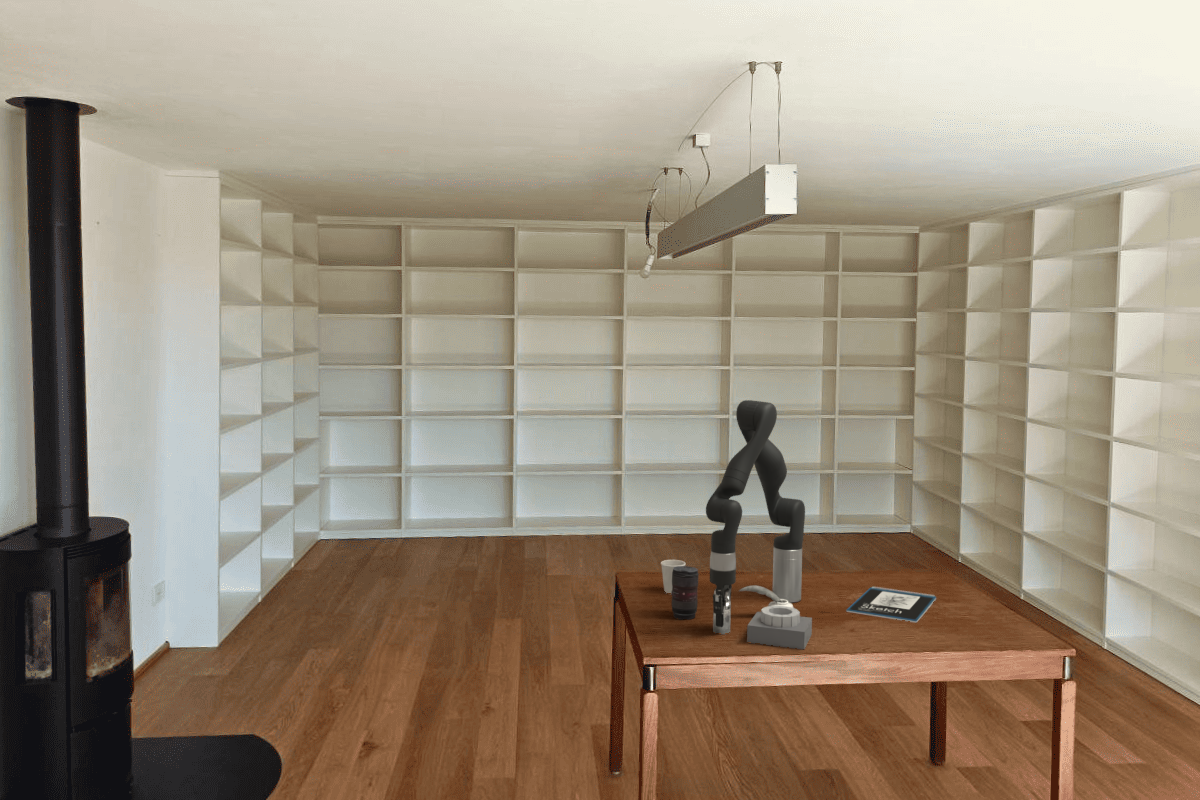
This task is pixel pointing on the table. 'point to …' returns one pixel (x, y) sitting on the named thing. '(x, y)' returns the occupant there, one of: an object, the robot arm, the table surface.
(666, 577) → the dixie cup
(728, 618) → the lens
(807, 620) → the grey socket base
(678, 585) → the camera lens
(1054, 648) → the table surface
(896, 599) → the sketchbook
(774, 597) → the inkwell
